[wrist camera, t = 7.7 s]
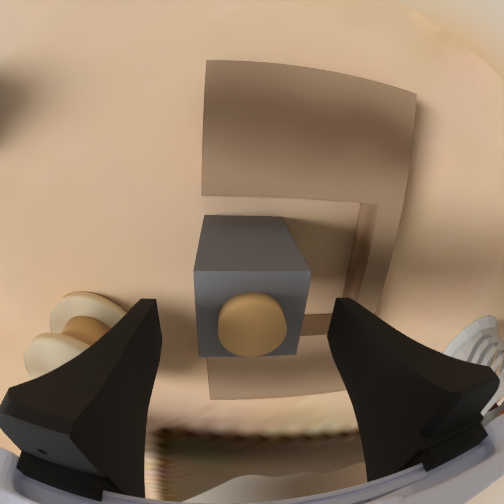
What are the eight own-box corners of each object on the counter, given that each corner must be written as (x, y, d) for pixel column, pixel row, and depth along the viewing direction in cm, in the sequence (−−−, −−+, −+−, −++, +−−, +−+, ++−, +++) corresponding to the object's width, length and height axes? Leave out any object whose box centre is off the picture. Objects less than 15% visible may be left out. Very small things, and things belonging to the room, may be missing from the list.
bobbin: (150, 372, 19) (139, 426, 15) (71, 362, 19) (50, 408, 14) (133, 294, 17) (109, 350, 12) (43, 288, 16) (7, 334, 11)
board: (338, 371, 21) (345, 390, 19) (210, 378, 20) (209, 399, 18) (396, 94, 13) (416, 93, 11) (209, 68, 12) (206, 60, 10)
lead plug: (274, 282, 17) (299, 368, 11) (205, 282, 17) (198, 370, 11) (280, 216, 15) (317, 283, 9) (204, 215, 15) (191, 283, 9)
